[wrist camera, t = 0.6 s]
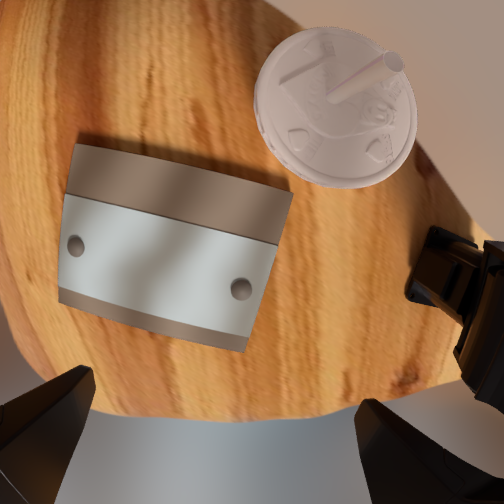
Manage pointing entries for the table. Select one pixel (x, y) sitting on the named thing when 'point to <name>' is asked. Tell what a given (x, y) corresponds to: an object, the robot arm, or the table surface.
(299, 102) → the smoothie
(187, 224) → the gray and brown board
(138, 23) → the table surface
